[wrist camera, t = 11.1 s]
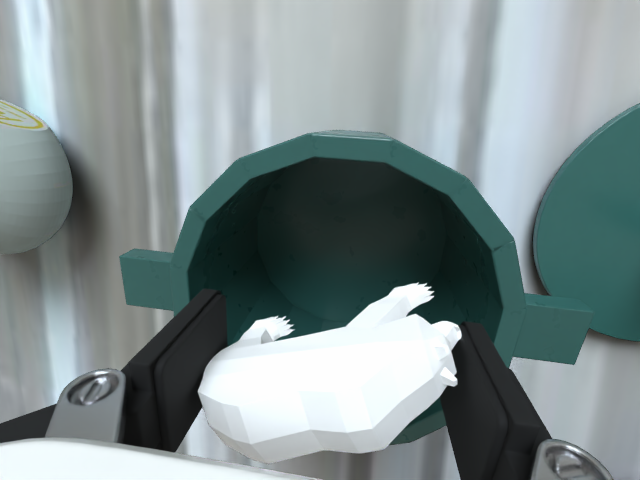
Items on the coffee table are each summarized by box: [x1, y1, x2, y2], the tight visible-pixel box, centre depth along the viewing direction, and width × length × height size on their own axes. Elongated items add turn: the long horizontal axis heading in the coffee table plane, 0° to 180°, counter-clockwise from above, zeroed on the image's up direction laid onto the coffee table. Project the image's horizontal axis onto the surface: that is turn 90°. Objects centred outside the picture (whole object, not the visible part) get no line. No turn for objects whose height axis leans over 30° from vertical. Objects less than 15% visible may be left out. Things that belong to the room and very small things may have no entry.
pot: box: [119, 130, 595, 445], centre depth 17 cm, size 14×19×10 cm
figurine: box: [198, 282, 462, 464], centre depth 10 cm, size 2×8×5 cm, turn 109°
